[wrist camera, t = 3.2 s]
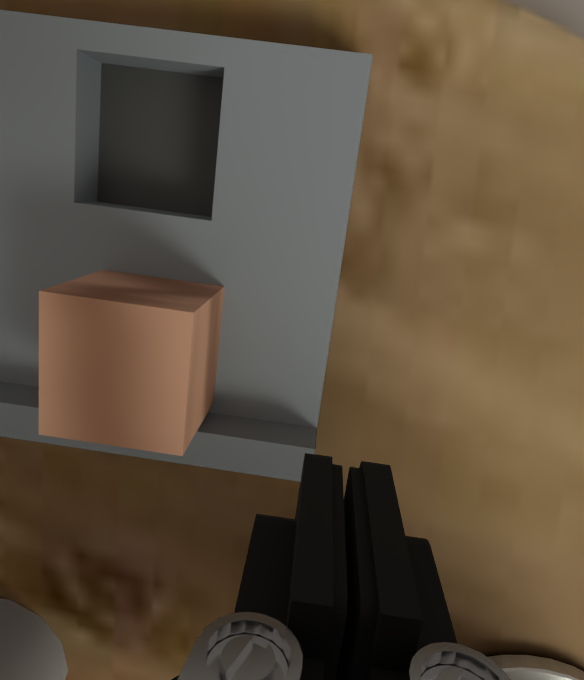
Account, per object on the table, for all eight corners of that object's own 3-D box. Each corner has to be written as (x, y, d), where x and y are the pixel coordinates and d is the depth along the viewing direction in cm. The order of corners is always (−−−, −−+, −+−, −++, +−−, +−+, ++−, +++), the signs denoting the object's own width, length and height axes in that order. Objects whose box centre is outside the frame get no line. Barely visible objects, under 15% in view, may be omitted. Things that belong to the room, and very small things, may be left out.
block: (224, 286, 22) (194, 312, 17) (213, 401, 23) (182, 456, 19) (102, 269, 22) (39, 291, 17) (98, 385, 24) (38, 434, 19)
